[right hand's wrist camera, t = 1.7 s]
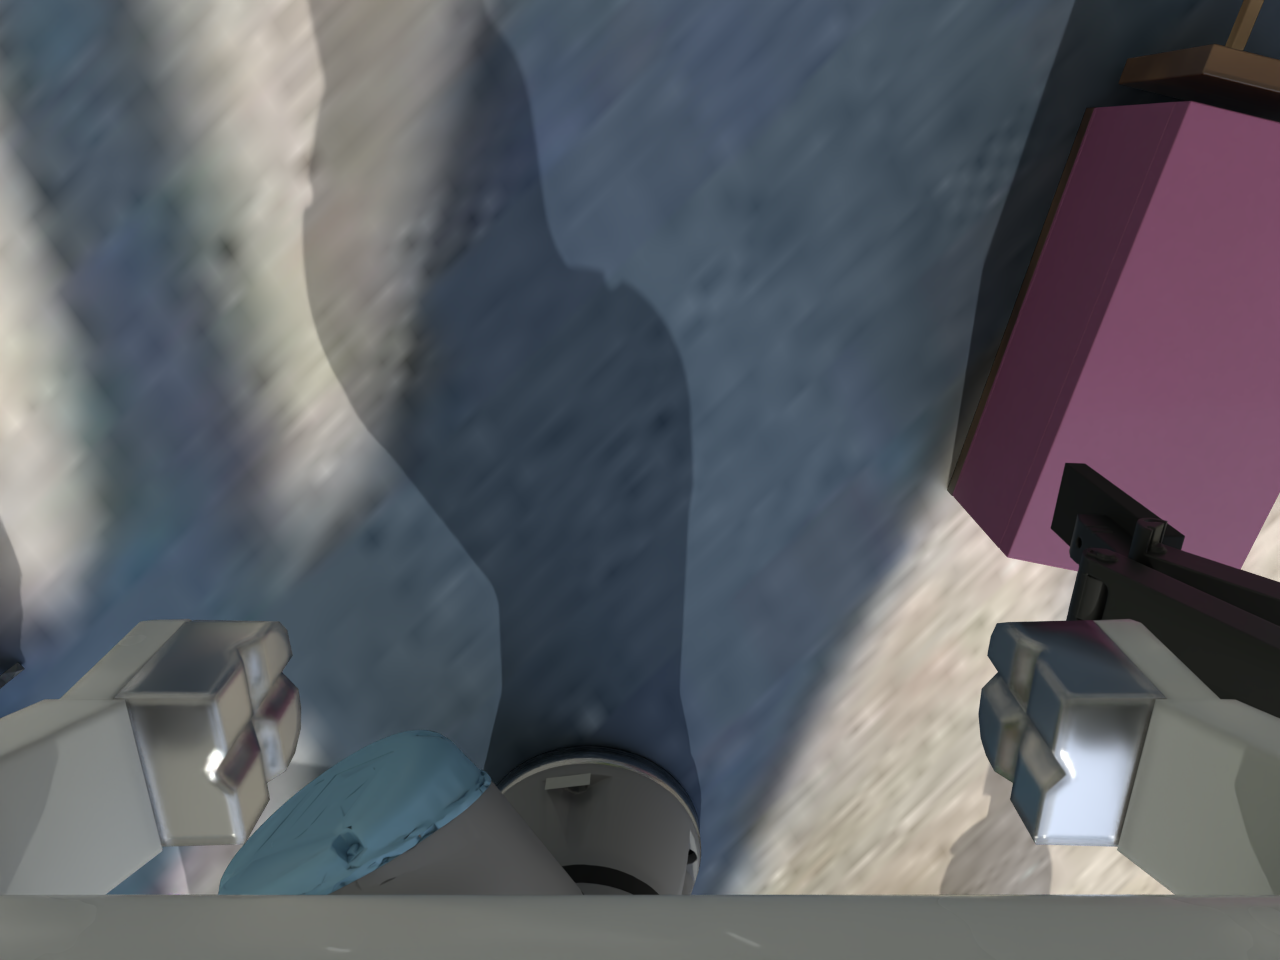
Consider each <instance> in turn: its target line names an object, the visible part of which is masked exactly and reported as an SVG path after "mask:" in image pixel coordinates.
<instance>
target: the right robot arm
mask: <svg viewBox="0 0 1280 960" xmlns="http://www.w3.org/2000/svg"><path fill="white" fill-rule="evenodd" d="M292 656H293V655H292V650H291V645H290V641H289V636H288V631H287V629H286V628H285V627H284V626H283V625H282V624H281V623H280V622H276V621H223V620H193V621H192V620H189V619H173V620H149V621H142V622H140V623H138V624H137V625H136V626H135V627H134V628H133V629H132V630H131V631H130V632H129V633H128V634H127V635H126V636H125V637H124V638H123V639H122V640H121V641H120V642H119V643H118V644H117V645H116V646H115V647H113V648H112V649H111V650H110V651H109V652H108V653H107V654H106V655H105V656H104V657H103V658H102V659H101V660H100V661H99V662H98V663H97V664H96V665H95V666H94V667H93V668H92V669H91V670H90V671H89V672H87V673H86V674H85V675H84V676H83V677H82V678H81V679H80V680H79V681H78V682H77V683H76V684H75V685H74V686H73V687H72V688H71V689H70V690H69V691H68V692H67V693H66V694H65V695H64V696H62V697H61V698H60V699H48V700H42V701H40V702H38V703H35V704H33V705H31V706H28V707H26V708H24V709H21V710H19V711H17V712H14V713H12V714H10V715H7V716H5V717H3V718H0V960H1280V718H1277V717H1275V716H1273V715H1270V714H1268V713H1266V712H1263V711H1261V710H1259V709H1256V708H1254V707H1252V706H1249V705H1247V704H1245V703H1242V702H1240V701H1238V700H1233V699H1220V698H1219V697H1218V696H1217V695H1216V694H1214V693H1213V692H1212V691H1211V690H1210V689H1209V688H1208V687H1207V686H1206V685H1205V684H1204V683H1203V682H1202V681H1201V680H1200V679H1199V678H1198V677H1197V676H1196V675H1195V674H1194V673H1193V672H1192V671H1191V670H1190V669H1189V668H1187V667H1186V666H1185V665H1184V664H1183V663H1182V662H1181V661H1180V660H1179V659H1178V658H1177V657H1176V656H1175V655H1174V654H1173V653H1172V652H1171V651H1170V650H1169V649H1168V648H1167V647H1166V646H1165V645H1164V644H1163V643H1162V642H1161V641H1159V640H1158V639H1157V638H1156V637H1155V636H1154V635H1153V634H1152V633H1151V632H1150V631H1149V630H1148V629H1147V628H1146V627H1145V626H1144V625H1143V624H1142V623H1140V622H1137V621H1134V620H1131V619H1114V620H1080V621H1039V622H1006V623H997V624H996V627H995V629H994V631H993V633H992V635H991V639H990V644H989V650H988V655H987V656H988V657H989V659H990V660H991V662H992V663H993V665H994V666H995V668H996V669H997V671H998V673H997V674H996V675H995V676H994V677H993V678H992V679H991V680H990V681H989V682H988V683H987V684H986V685H985V686H984V687H983V688H982V691H981V699H980V707H979V724H980V735H981V740H982V744H983V747H984V750H985V753H986V756H987V758H988V760H989V762H990V764H991V765H992V767H993V769H994V771H995V772H997V773H998V774H1000V775H1001V776H1003V777H1005V778H1006V779H1008V780H1009V781H1011V782H1012V783H1013V787H1012V792H1011V798H1010V800H1011V802H1012V803H1013V805H1014V807H1015V809H1016V810H1017V812H1018V814H1019V816H1020V817H1021V819H1022V821H1023V823H1024V824H1025V826H1026V828H1027V830H1028V832H1029V833H1030V835H1031V837H1032V839H1033V840H1034V842H1035V844H1043V845H1080V846H1117V847H1118V849H1117V850H1118V851H1119V852H1120V853H1122V854H1123V855H1124V856H1125V857H1127V858H1128V859H1129V860H1131V861H1132V862H1133V863H1135V864H1136V865H1137V866H1138V867H1140V868H1141V869H1142V870H1144V871H1145V872H1146V873H1148V874H1149V875H1150V876H1151V877H1153V878H1154V879H1155V880H1157V881H1158V882H1159V883H1161V884H1162V885H1163V886H1164V887H1166V888H1167V889H1168V890H1170V891H1171V892H1172V893H1174V894H1175V895H105V894H107V893H108V892H109V891H111V890H112V889H113V888H115V887H116V886H117V885H118V884H120V883H121V882H122V881H124V880H125V879H126V878H128V877H129V876H130V875H131V874H133V873H134V872H135V871H137V870H138V869H139V868H141V867H142V866H143V865H144V864H146V863H147V862H148V861H150V860H151V859H152V858H154V857H155V856H156V855H157V854H159V853H160V852H161V851H162V850H163V849H162V847H163V846H199V845H234V844H245V842H246V841H247V839H248V837H249V835H250V833H251V832H252V830H253V828H254V826H255V825H256V823H257V821H258V819H259V818H260V816H261V814H262V812H263V810H264V809H265V807H266V805H267V803H268V802H269V800H270V798H269V792H268V787H267V783H268V782H269V781H271V780H272V779H274V778H275V777H277V776H279V775H280V774H282V773H283V772H285V771H286V769H287V767H288V765H289V763H290V762H291V760H292V758H293V756H294V754H295V751H296V747H297V742H298V738H299V734H300V729H301V704H300V697H299V691H298V688H297V687H296V686H295V685H294V684H293V683H292V682H291V681H290V680H289V679H288V678H287V677H286V676H285V675H284V674H283V673H282V671H283V669H284V668H285V666H286V665H287V663H288V662H289V660H290V659H291V657H292Z"/></svg>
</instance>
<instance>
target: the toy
mask: <svg viewBox="0 0 1280 960" xmlns="http://www.w3.org/2000/svg"><path fill="white" fill-rule="evenodd" d="M23 670H24V668H23V667H22V666H21V665H20V664H19V663H16V664H15V665H14V666H12V667H11V668H9V669H8V670H7V671H5V672H4V673H3V674H2V675H0V689H1V688H2V687H3V686H4V685H5V684H6V683H8V682H9V681H10V680H11V679H13V678H14V677H15V676H16V675H18V674H19V673H20V672H21V671H23Z"/></svg>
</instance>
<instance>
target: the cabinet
mask: <svg viewBox="0 0 1280 960" xmlns="http://www.w3.org/2000/svg"><path fill="white" fill-rule="evenodd" d="M1065 463H1085V464H1087V465H1088V466H1089V467H1091V468H1092V469H1094V470H1095V471H1096V472H1098V473H1099V474H1100V475H1102V476H1103V477H1105V478H1106V479H1107V480H1109V481H1110V482H1111V483H1113V484H1114V485H1116V486H1117V487H1118V488H1120V489H1121V490H1122V491H1124V492H1125V493H1127V494H1128V495H1129V496H1131V497H1132V498H1133V499H1135V500H1136V501H1138V502H1139V503H1140V504H1142V505H1143V506H1144V507H1146V508H1147V509H1149V510H1150V511H1151V512H1153V513H1154V514H1155V515H1157V516H1158V517H1160V518H1161V519H1162V520H1165V521H1168V522H1167V523H1168V524H1169V525H1171V526H1172V527H1173V528H1175V529H1176V530H1178V531H1179V532H1180V533H1182V534H1183V535H1184V536H1185V538H1184V542H1183V545H1182V549H1181V550H1182V551H1185V552H1188V553H1191V554H1195V555H1198V556H1201V557H1204V558H1207V559H1210V560H1213V561H1216V562H1219V563H1222V564H1225V565H1228V566H1231V567H1234V568H1237V569H1241V567H1242V565H1243V563H1244V561H1245V559H1246V557H1247V556H1248V554H1249V552H1250V550H1251V548H1252V546H1253V544H1254V542H1255V540H1256V538H1257V536H1258V534H1259V532H1260V530H1261V528H1262V526H1263V524H1264V522H1265V520H1266V518H1267V516H1268V514H1269V512H1270V510H1271V508H1272V507H1273V505H1274V503H1275V501H1276V499H1277V497H1278V495H1279V493H1280V122H1276V121H1272V120H1268V119H1264V118H1260V117H1256V116H1252V115H1248V114H1244V113H1239V112H1235V111H1231V110H1227V109H1223V108H1219V107H1215V106H1211V105H1207V104H1203V103H1199V102H1194V101H1182V102H1166V103H1153V104H1139V105H1126V106H1112V107H1099V108H1095V107H1092V108H1086V111H1085V113H1084V116H1083V119H1082V122H1081V124H1080V127H1079V130H1078V133H1077V135H1076V138H1075V141H1074V144H1073V146H1072V149H1071V152H1070V155H1069V157H1068V160H1067V163H1066V166H1065V168H1064V171H1063V174H1062V177H1061V179H1060V182H1059V185H1058V188H1057V190H1056V193H1055V196H1054V199H1053V201H1052V204H1051V207H1050V210H1049V212H1048V215H1047V218H1046V221H1045V223H1044V226H1043V229H1042V232H1041V234H1040V237H1039V240H1038V243H1037V245H1036V248H1035V251H1034V253H1033V256H1032V259H1031V262H1030V264H1029V267H1028V270H1027V273H1026V275H1025V278H1024V281H1023V284H1022V286H1021V289H1020V292H1019V295H1018V297H1017V300H1016V303H1015V306H1014V308H1013V311H1012V314H1011V317H1010V319H1009V322H1008V325H1007V328H1006V330H1005V333H1004V336H1003V339H1002V341H1001V344H1000V347H999V350H998V352H997V355H996V358H995V361H994V363H993V366H992V369H991V372H990V374H989V377H988V380H987V382H986V385H985V388H984V391H983V393H982V396H981V399H980V402H979V404H978V407H977V410H976V413H975V415H974V418H973V421H972V424H971V426H970V429H969V432H968V435H967V437H966V440H965V443H964V446H963V448H962V451H961V454H960V457H959V459H958V462H957V465H956V468H955V470H954V473H953V476H952V479H951V481H950V484H949V487H948V490H947V491H948V492H949V493H950V494H951V495H952V496H954V498H955V499H956V500H957V501H958V502H959V503H960V505H961V506H962V507H963V508H964V509H965V510H966V511H967V513H968V514H969V515H970V516H971V517H972V518H973V519H974V520H975V522H976V523H977V524H978V525H979V526H980V527H981V528H982V529H983V531H984V532H985V533H986V534H987V535H988V536H989V537H990V539H991V540H992V541H993V542H994V543H995V544H996V545H997V546H998V548H1000V550H1001V551H1002V552H1003V553H1004V554H1005V555H1006V556H1007V557H1008V558H1013V559H1018V560H1023V561H1028V562H1033V563H1038V564H1043V565H1049V566H1054V567H1059V568H1064V569H1069V570H1074V571H1078V569H1079V564H1077V563H1076V562H1075V561H1073V560H1072V559H1071V558H1070V554H1069V549H1070V546H1069V545H1067V544H1066V543H1065V542H1064V541H1063V540H1062V539H1061V538H1060V537H1059V536H1058V535H1057V534H1056V533H1055V532H1054V531H1053V530H1052V529H1051V524H1052V520H1053V515H1054V511H1055V506H1056V502H1057V497H1058V493H1059V488H1060V484H1061V480H1062V475H1063V471H1064V466H1065Z"/></svg>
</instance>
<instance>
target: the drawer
mask: <svg viewBox="0 0 1280 960" xmlns="http://www.w3.org/2000/svg"><path fill="white" fill-rule="evenodd" d="M1263 2H1264V0H1244V1H1243V3H1242V6H1241V8H1240V11H1239V13H1238V16H1237V18H1236V21H1235V23H1234V26H1233V28H1232V30H1231V33H1230V35H1229V38H1228V40H1227V43H1226V45H1225V46H1222V45H1218V44H1211V45H1205V46H1199V47H1193V48H1187V49H1181V50H1175V51H1169V52H1163V53H1158V54H1152V55H1146V56H1140V57H1134V58H1128V60H1127V62H1126V65H1125V67H1124V70H1123V73H1122V75H1121V78H1120V81H1119V84H1120V85H1124V86H1128V87H1132V88H1136V89H1140V90H1144V91H1148V92H1152V93H1156V94H1161V95H1165V96H1169V97H1173V98H1177V99H1181V100H1185V101H1194V102H1199V103H1203V104H1207V105H1211V106H1215V107H1219V108H1223V109H1227V110H1231V111H1235V112H1239V113H1244V114H1248V115H1252V116H1256V117H1260V118H1264V119H1268V120H1272V121H1276V122H1280V60H1278V59H1274V58H1270V57H1266V56H1262V55H1258V54H1254V53H1250V52H1246V51H1243V50H1244V47H1245V45H1246V43H1247V40H1248V38H1249V35H1250V33H1251V31H1252V28H1253V26H1254V23H1255V21H1256V19H1257V16H1258V14H1259V11H1260V9H1261V6H1262V4H1263Z"/></svg>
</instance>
